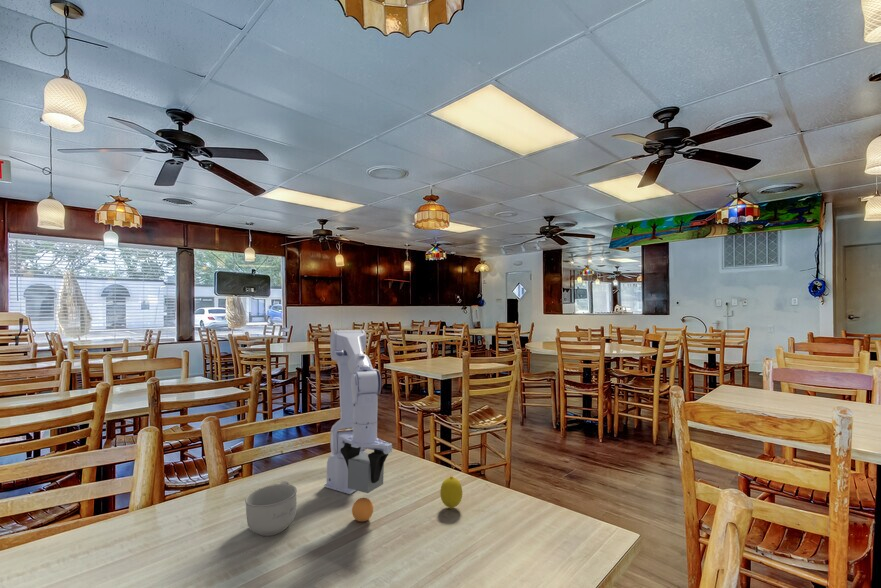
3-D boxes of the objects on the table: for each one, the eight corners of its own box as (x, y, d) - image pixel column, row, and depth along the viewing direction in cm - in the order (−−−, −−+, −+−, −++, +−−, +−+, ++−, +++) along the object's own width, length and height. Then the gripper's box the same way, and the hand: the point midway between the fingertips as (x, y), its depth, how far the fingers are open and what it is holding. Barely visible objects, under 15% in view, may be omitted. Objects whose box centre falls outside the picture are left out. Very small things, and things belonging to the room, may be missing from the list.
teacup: (278, 545, 85) (279, 506, 86) (233, 538, 88) (234, 501, 88) (311, 512, 99) (312, 479, 99) (272, 507, 101) (273, 475, 102)
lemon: (453, 516, 98) (454, 483, 98) (435, 509, 101) (436, 477, 102) (466, 507, 103) (466, 475, 103) (448, 501, 106) (449, 470, 106)
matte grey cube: (347, 487, 96) (348, 459, 96) (363, 479, 101) (364, 452, 102) (367, 493, 93) (368, 464, 94) (383, 484, 98) (383, 456, 99)
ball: (355, 491, 98) (362, 503, 100) (344, 511, 94) (352, 523, 96) (373, 495, 96) (379, 507, 98) (362, 515, 92) (369, 528, 94)
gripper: (330, 420, 97) (329, 478, 97) (379, 430, 90) (378, 491, 90) (350, 414, 103) (349, 468, 103) (397, 422, 97) (396, 480, 96)
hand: (364, 478), depth 97 cm, fingers closed on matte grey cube, 6 cm apart
